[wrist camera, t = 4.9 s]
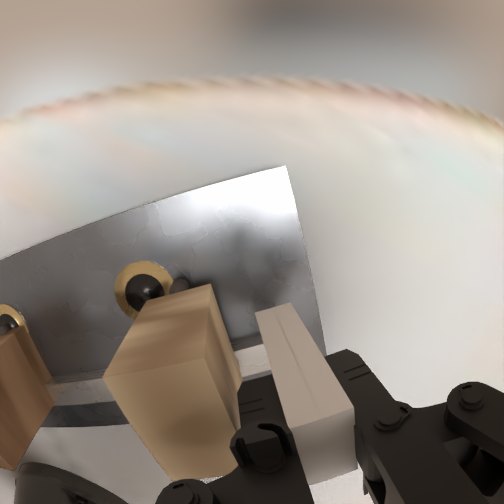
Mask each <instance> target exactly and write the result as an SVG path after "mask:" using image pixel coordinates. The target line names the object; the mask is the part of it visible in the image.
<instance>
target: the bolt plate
mask: <svg viewBox="0 0 504 504" xmlns="http://www.w3.org/2000/svg"><path fill="white" fill-rule="evenodd" d="M177 278H182V279H184V280H186V281H187V282H188V285H189V289H192V288H196V287H200V286H203V285H207V284H211V286H212V289H213V292H214V295H215V298H216V301H217V304H218V307H219V310H220V314H221V317H222V320H223V323H224V326H225V329H226V331H227V334H228V337H229V340H230V343H231V346H232V349H233V352H234V355H235V358H236V361H237V363H238V366H239V369H240V372H241V375H242V380H243V382H244V381H248V380H251V379H255V378H259V377H263V376H266V375H270V374H272V371H271V368H270V364H269V361H268V357H267V354H266V350H265V347H264V343H263V340H262V336H261V333H260V329H259V326H258V322H257V319H256V315H255V312H259V311H262V310H266V309H269V308H273V307H276V306H280V305H283V304H286V303H290V302H291V304H292V306H293V307H294V309H295V310H296V312H297V314H298V315H299V317H300V319H301V320H302V322H303V324H304V325H305V327H306V329H307V330H308V332H309V334H310V335H311V337H312V338H313V340H314V342H315V343H316V345H317V347H318V348H319V350H320V352H321V353H322V355H323V357H325V356H327V354H326V348H325V343H324V337H323V332H322V326H321V321H320V316H319V310H318V305H317V300H316V295H315V290H314V285H313V280H312V276H311V271H310V266H309V262H308V257H307V252H306V248H305V243H304V239H303V234H302V230H301V226H300V221H299V217H298V213H297V209H296V205H295V200H294V196H293V192H292V188H291V184H290V180H289V176H288V172H287V169H286V166H282V167H278V168H273V169H269V170H265V171H261V172H257V173H253V174H249V175H245V176H242V177H238V178H234V179H230V180H227V181H223V182H219V183H216V184H212V185H209V186H205V187H202V188H198V189H195V190H191V191H188V192H185V193H181V194H178V195H175V196H171V197H168V198H165V199H162V200H159V201H156V202H152V203H149V204H146V205H143V206H140V207H137V208H134V209H131V210H128V211H125V212H122V213H119V214H117V215H114V216H111V217H108V218H105V219H102V220H100V221H97V222H94V223H91V224H89V225H86V226H83V227H81V228H78V229H75V230H73V231H70V232H68V233H65V234H63V235H60V236H57V237H55V238H52V239H50V240H48V241H45V242H43V243H40V244H38V245H35V246H33V247H31V248H28V249H26V250H24V251H21V252H19V253H17V254H14V255H12V256H10V257H8V258H5V259H3V260H1V261H0V328H1V327H2V326H3V325H5V324H6V323H8V324H10V325H11V327H12V328H16V327H19V326H22V325H24V326H25V328H26V330H27V332H28V333H29V334H30V336H31V338H32V340H33V342H34V344H35V346H36V348H37V350H38V352H39V354H40V356H41V358H42V360H43V362H44V364H45V366H46V367H47V369H48V371H49V373H50V375H51V376H52V377H51V378H50V380H49V381H48V382H47V384H46V385H45V386H46V387H47V389H48V391H49V392H50V394H51V395H52V397H53V399H54V400H55V404H54V406H53V407H52V409H51V410H50V412H49V413H48V415H47V417H46V418H45V420H44V421H43V423H42V425H41V426H40V427H91V426H108V425H121V424H130V423H129V421H128V420H127V418H126V417H125V415H124V413H123V412H122V410H121V409H120V407H119V405H118V404H117V402H116V401H115V399H114V397H113V396H112V394H111V392H110V390H109V389H108V387H107V385H106V383H105V382H104V380H103V378H102V377H103V375H104V373H105V372H106V370H107V368H108V366H109V364H110V363H111V361H112V359H113V357H114V355H115V354H116V352H117V350H118V348H119V347H120V345H121V343H122V341H123V340H124V338H125V336H126V335H127V333H128V331H129V329H130V328H131V326H132V324H133V323H134V321H135V319H136V318H137V316H138V314H139V313H140V311H141V309H142V308H143V306H144V304H145V303H146V301H147V300H151V299H155V298H159V297H162V296H166V295H169V289H170V287H171V284H172V282H173V281H174V280H175V279H177ZM189 289H188V290H189Z"/></svg>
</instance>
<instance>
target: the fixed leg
mask: <svg viewBox="0 0 504 504" xmlns="http://www.w3.org/2000/svg"><path fill="white" fill-rule="evenodd" d="M51 377H52V376H51V375H50V373H49V371H48V369H47V367H46V366H45V364H44V362H43V360H42V358H41V356H40V354H39V352H38V350H37V348H36V346H35V344H34V342H33V340H32V338H31V336H30V334H29V333H28V332H27V330H26V328H25V326H24V325H22V326H19V327H16V328H12V327H11V325H10V324H8V323H6V324H5V325H3V326H2V327H1V328H0V468H4V469H8V470H12V471H15V469H16V467H17V466H18V464H19V462H20V460H21V458H22V457H23V455H24V453H25V452H26V450H27V448H28V446H29V445H30V443H31V441H32V440H33V438H34V436H35V435H36V433H37V431H38V430H39V428H40V426H41V425H42V423H43V421H44V420H45V418H46V417H47V415H48V413H49V412H50V410H51V409H52V407H53V406H54V404H55V400H54V399H53V397H52V395H51V394H50V392H49V391H48V389H47V387H46V386H45V385H46V384H47V382H48V381H49V380H50V378H51Z"/></svg>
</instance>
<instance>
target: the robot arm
mask: <svg viewBox="0 0 504 504" xmlns="http://www.w3.org/2000/svg"><path fill="white" fill-rule="evenodd" d="M255 315H256V319H257V322H258V326H259V329H260V333H261V336H262V340H263V343H264V347H265V350H266V354H267V357H268V361H269V364H270V368H271V371H272V374H270V375H266V376H263V377H259V378H255V379H251V380H248V381H244V382H242V383H241V385H240V388H239V390H238V392H237V399H238V408H239V415H240V416H239V417H240V426H241V428H240V429H239V430H237V431H236V433H235V434H234V436H233V437H232V438H231V441H230V447H229V448H230V450H231V452H232V454H233V456H234V458H235V459H236V461H237V463H238V466H237V467H236V468H235V469H234V470H233V471H232V472H231V473H229V474H227V475H225V476H224V477H221V478H219V479H217V480H214V481H212V482H210V483H207V484H205V483H204V482H202V481H200V480H196V479H181V480H178V481H175V482H172V483H171V484H169V485H168V486H167V487H165V488H164V489H163V490H162V492H161V493H160V495H159V496H158V498H157V501H156V503H155V504H314V501H313V498H312V495H311V491H310V488H309V485H312V484H316V483H319V482H322V481H325V480H328V479H331V478H334V477H337V476H340V475H343V474H345V473H348V472H351V471H353V470H356V469H358V463H359V465H360V467H361V469H362V471H363V491H364V495H366V494H368V492H369V494H370V496H371V498H372V500H373V502H374V504H504V393H502V392H500V391H498V390H496V389H494V388H492V387H490V386H488V385H486V384H483V383H480V382H466V383H463V384H460V385H458V386H457V387H455V388H454V389H452V391H451V392H450V394H449V395H448V398H447V402H444V403H441V404H437V405H433V406H429V407H423V408H412V407H411V406H410V405H408V404H407V403H403V402H400V401H395V400H394V399H393V397H392V396H391V395H390V394H389V392H388V391H387V390H386V389H385V387H384V386H383V385H382V383H381V382H380V381H379V380H378V378H377V377H376V376H375V375H374V373H373V372H371V370H370V368H369V367H368V366H367V365H366V364H365V362H364V361H363V360H362V358H361V357H360V356H359V355H358V354H356V353H354V352H352V351H350V350H348V349H345V350H342V351H339V352H336V353H334V354H331V355H328V356H325V357H323V355H322V353H321V352H320V350H319V348H318V347H317V345H316V343H315V342H314V340H313V338H312V337H311V335H310V334H309V332H308V330H307V329H306V327H305V325H304V324H303V322H302V320H301V319H300V317H299V315H298V314H297V312H296V310H295V309H294V307H293V306H292V304H291V302H290V303H286V304H283V305H280V306H276V307H273V308H269V309H266V310H262V311H259V312H255ZM357 461H358V463H357ZM15 485H16V489H15V498H14V504H128V503H127V502H125V501H124V500H122V499H121V498H119V497H118V496H116V495H115V494H113V493H111V492H109V491H108V490H106V489H104V488H102V487H100V486H98V485H97V484H94V483H92V482H90V481H88V480H86V479H84V478H82V477H80V476H77V475H75V474H73V473H70V472H68V471H65V470H62V469H60V468H57V467H54V466H50V465H46V464H42V463H35V462H30V463H25V464H23V465H22V466H21V468H20V470H19V472H18V473H17V475H16V479H15Z"/></svg>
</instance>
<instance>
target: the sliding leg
mask: <svg viewBox="0 0 504 504" xmlns="http://www.w3.org/2000/svg"><path fill="white" fill-rule="evenodd" d="M188 289H189V285H188V282H187V281H186V280H184V279H182V278H177V279H175V280H174V281H173V282H172V284H171V287H170V289H169V295H166V296H162V297H159V298H155V299H151V300H147V301H146V303H145V304H144V306H143V308H142V309H141V311H140V313H139V314H138V316H137V318H136V319H135V321H134V323H133V324H132V326H131V328H130V329H129V331H128V333H127V335H126V336H125V338H124V340H123V341H122V343H121V345H120V347H119V348H118V350H117V352H116V354H115V355H114V357H113V359H112V361H111V363H110V364H109V366H108V368H107V370H106V372H105V373H104V375H103V377H102V378H103V380H104V382H105V383H106V385H107V387H108V389H109V390H110V392H111V394H112V396H113V397H114V399H115V401H116V402H117V404H118V405H119V407H120V409H121V410H122V412H123V413H124V415H125V417H126V418H127V420H128V421H129V423H130V424H131V426H132V427H133V429H134V430H135V432H136V433H137V435H138V436H139V438H140V439H141V440H142V442H143V443H144V445H145V446H146V447H147V449H148V450H149V452H150V453H151V454H152V456H153V457H154V458H155V460H156V461H157V462H158V464H159V465H160V466H161V467H162V469H163V470H164V471H165V472H166V474H167V475H168V476H169V477H170V479H171V480H172V481H178V480H181V479H202V478H210V477H217V476H224V475H227V474H229V473H231V472H232V471H233V470H234V469H235V468H236V467H237V466H238V463H237V461H236V459H235V458H234V456H233V454H232V452H231V450H230V448H229V447H230V441H231V438H232V437H233V436H234V434H235V433H236V431H237V430H239V429H240V428H241V426H240V417H239V416H240V415H239V408H238V399H237V392H238V390H239V388H240V385H241V383H242V382H243V380H242V375H241V372H240V369H239V366H238V363H237V361H236V358H235V355H234V352H233V349H232V346H231V343H230V340H229V337H228V334H227V331H226V329H225V326H224V323H223V320H222V317H221V314H220V310H219V307H218V304H217V301H216V298H215V295H214V292H213V289H212V286H211V284H207V285H203V286H200V287H196V288H192V289H189V290H188Z"/></svg>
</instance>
